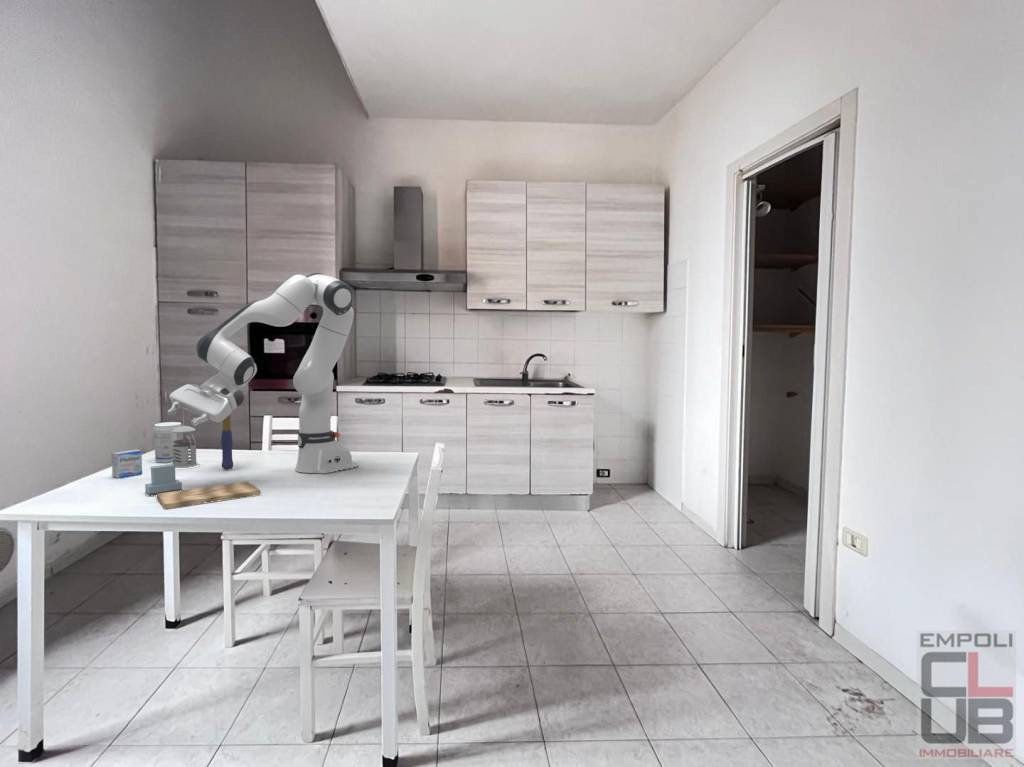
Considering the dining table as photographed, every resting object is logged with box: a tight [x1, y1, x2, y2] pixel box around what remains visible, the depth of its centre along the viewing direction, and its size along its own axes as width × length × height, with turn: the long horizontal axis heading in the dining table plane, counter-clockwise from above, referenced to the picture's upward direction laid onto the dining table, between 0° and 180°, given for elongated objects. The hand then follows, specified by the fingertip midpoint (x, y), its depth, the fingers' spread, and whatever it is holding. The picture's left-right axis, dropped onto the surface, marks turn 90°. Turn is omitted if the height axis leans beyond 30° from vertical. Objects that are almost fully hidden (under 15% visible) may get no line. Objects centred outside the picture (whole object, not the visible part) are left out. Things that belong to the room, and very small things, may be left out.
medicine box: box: [111, 449, 143, 479], centre depth 208 cm, size 8×4×9 cm, turn 148°
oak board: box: [156, 481, 262, 510], centre depth 183 cm, size 26×14×2 cm, turn 129°
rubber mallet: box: [220, 389, 245, 471], centre depth 218 cm, size 12×8×30 cm, turn 169°
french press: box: [171, 408, 200, 468], centre depth 223 cm, size 10×12×25 cm
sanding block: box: [144, 463, 183, 497], centre depth 187 cm, size 9×5×8 cm, turn 134°
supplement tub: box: [153, 421, 184, 464], centre depth 233 cm, size 10×10×15 cm
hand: (181, 419), depth 187 cm, fingers open, 8 cm apart
